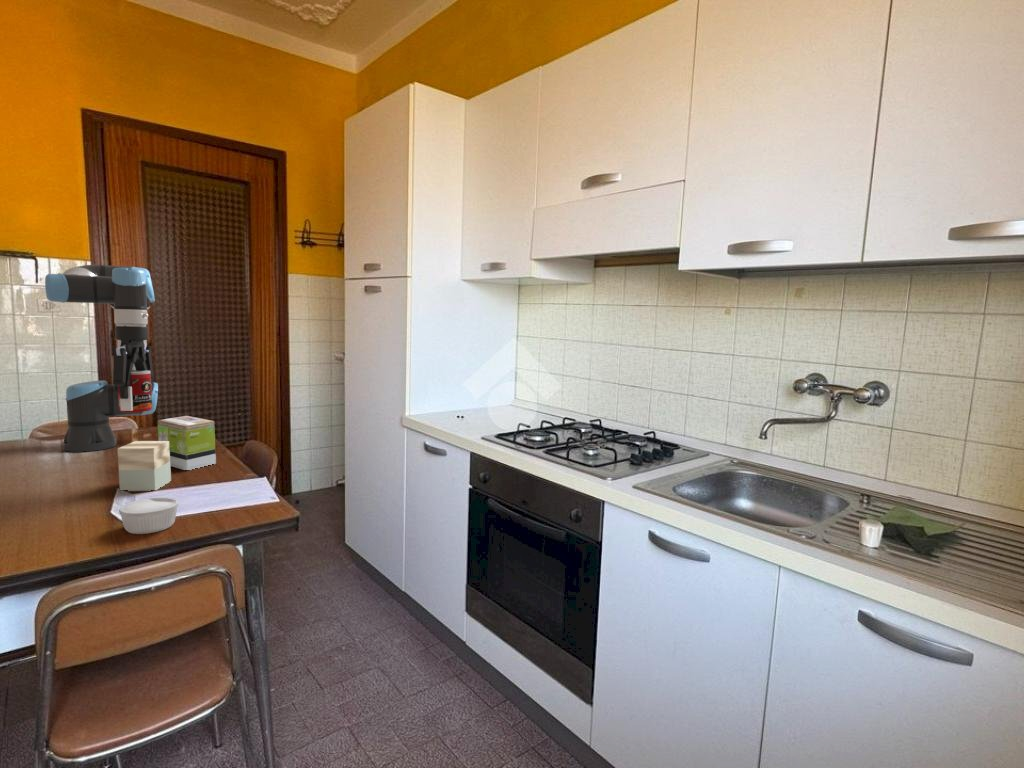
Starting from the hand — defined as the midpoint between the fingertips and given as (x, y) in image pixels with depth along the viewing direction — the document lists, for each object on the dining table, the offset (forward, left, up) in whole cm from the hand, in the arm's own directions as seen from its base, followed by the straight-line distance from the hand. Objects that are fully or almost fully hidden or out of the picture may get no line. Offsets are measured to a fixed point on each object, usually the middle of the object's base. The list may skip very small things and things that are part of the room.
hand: (135, 408), depth 153 cm
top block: (0, +2, -16) cm, 16 cm away
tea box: (-22, +3, -22) cm, 32 cm away
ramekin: (+32, +19, -22) cm, 43 cm away
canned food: (0, 0, -1) cm, 1 cm away
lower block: (+1, +2, -22) cm, 22 cm away
